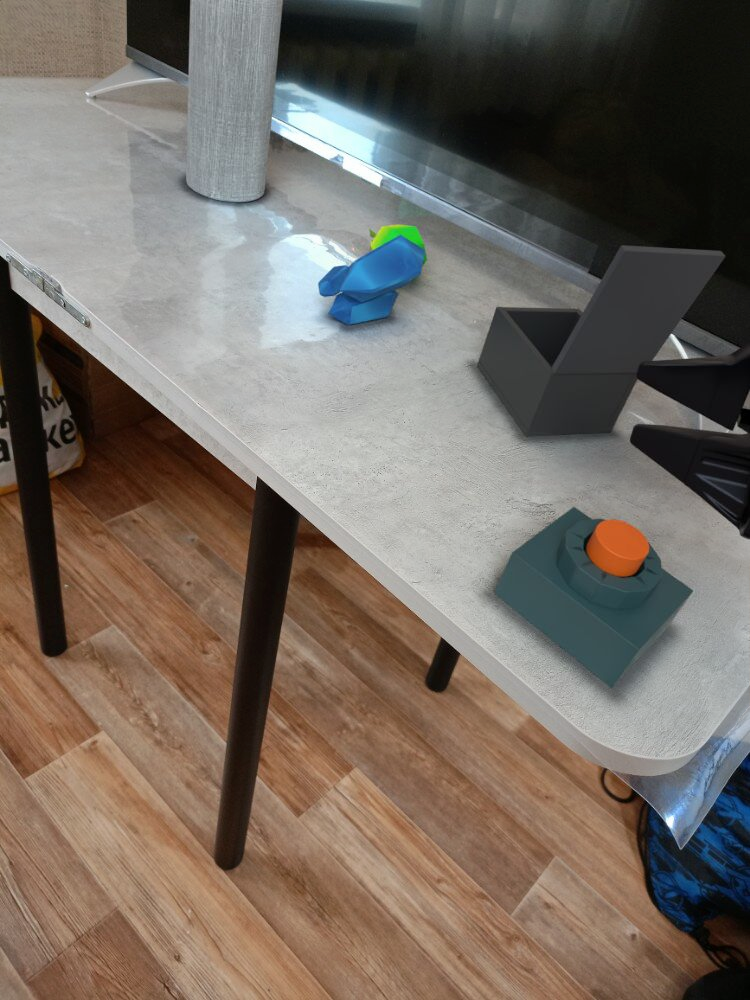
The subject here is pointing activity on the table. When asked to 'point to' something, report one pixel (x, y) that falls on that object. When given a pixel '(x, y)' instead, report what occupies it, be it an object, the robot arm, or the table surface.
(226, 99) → the grey fabric cylinder
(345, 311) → the crystal
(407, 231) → the apple
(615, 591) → the control block
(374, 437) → the table surface
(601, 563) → the button
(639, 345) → the lid
